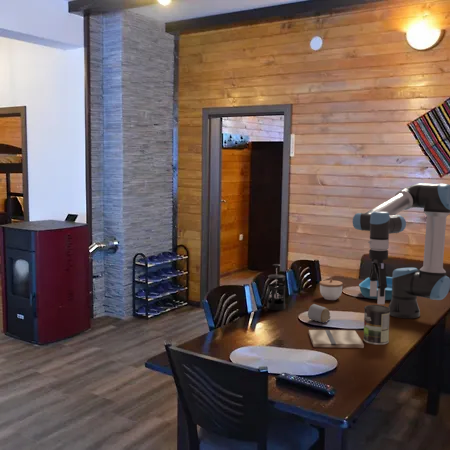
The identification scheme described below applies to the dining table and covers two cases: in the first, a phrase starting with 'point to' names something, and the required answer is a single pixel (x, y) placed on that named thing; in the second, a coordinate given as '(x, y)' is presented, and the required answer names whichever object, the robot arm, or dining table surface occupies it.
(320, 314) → the ceramic mug
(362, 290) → the casserole dish
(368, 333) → the coffee can
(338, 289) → the lidded bowl
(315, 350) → the dining table surface
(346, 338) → the plywood board
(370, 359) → the dining table surface
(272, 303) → the french press
